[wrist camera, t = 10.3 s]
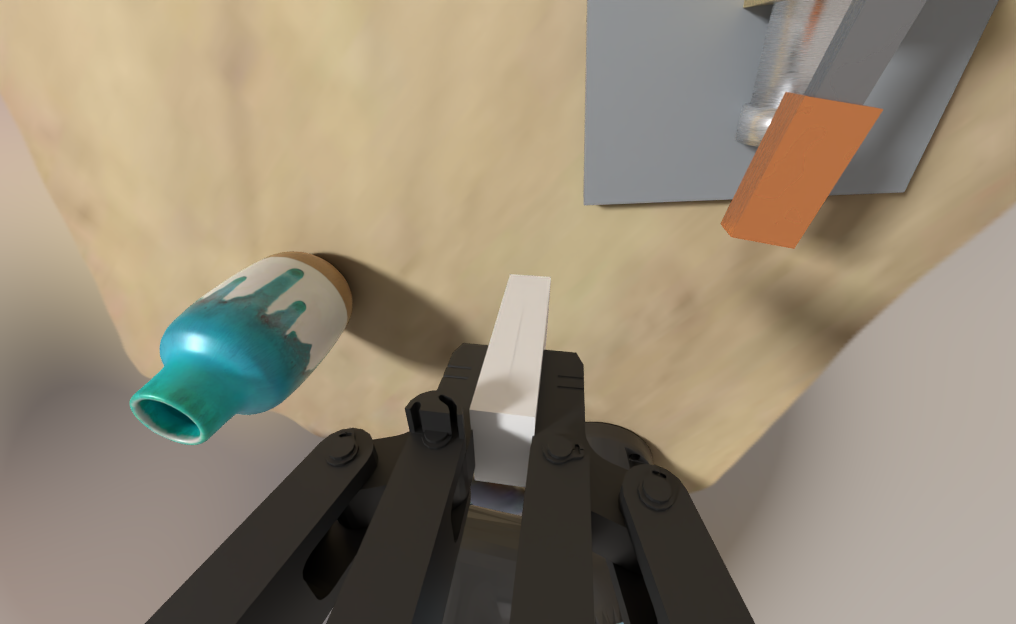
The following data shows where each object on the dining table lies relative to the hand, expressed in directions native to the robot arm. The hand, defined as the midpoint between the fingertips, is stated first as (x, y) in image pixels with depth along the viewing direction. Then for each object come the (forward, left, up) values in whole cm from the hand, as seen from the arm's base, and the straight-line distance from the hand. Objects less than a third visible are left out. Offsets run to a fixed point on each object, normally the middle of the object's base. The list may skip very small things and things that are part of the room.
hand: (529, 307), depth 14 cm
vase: (-10, +26, -21) cm, 35 cm away
